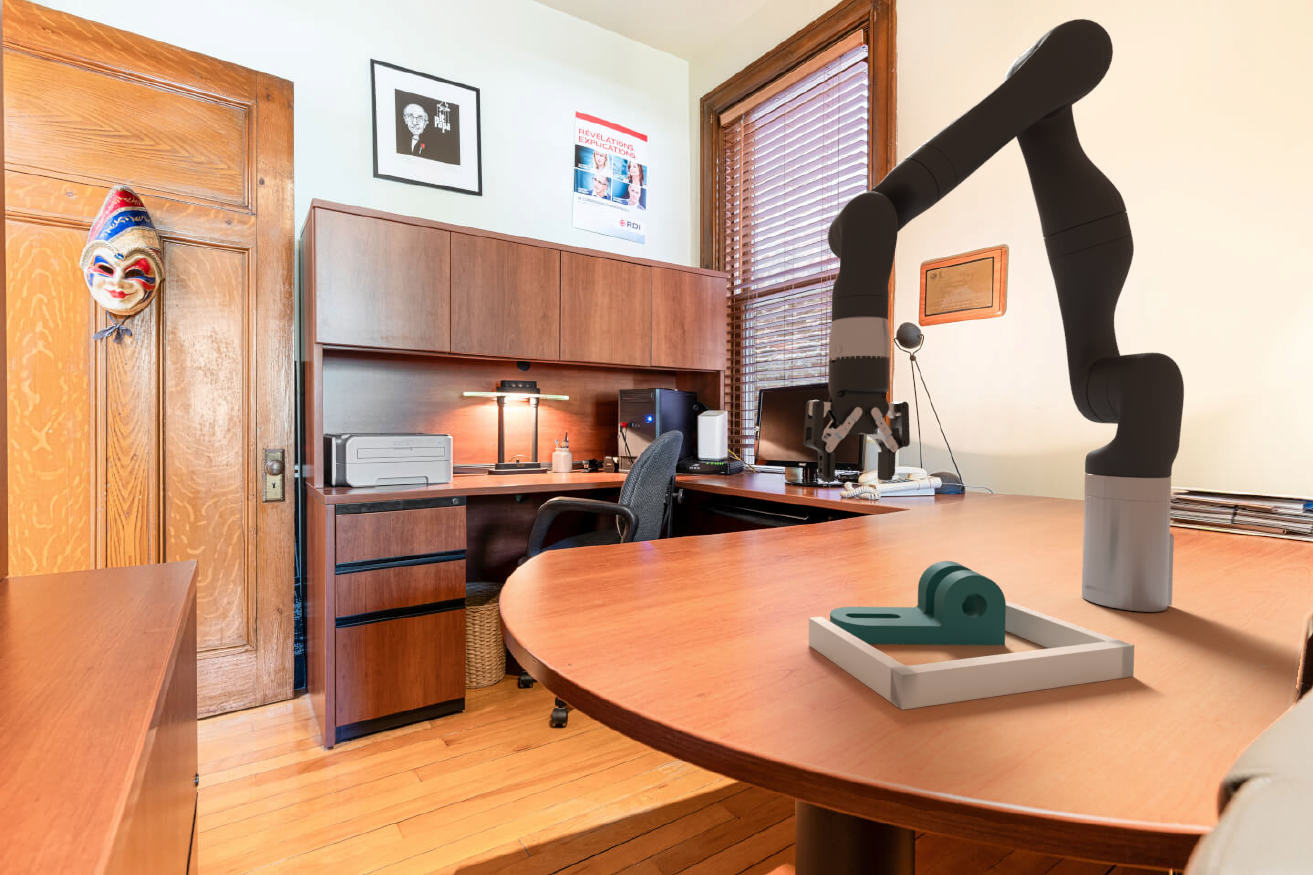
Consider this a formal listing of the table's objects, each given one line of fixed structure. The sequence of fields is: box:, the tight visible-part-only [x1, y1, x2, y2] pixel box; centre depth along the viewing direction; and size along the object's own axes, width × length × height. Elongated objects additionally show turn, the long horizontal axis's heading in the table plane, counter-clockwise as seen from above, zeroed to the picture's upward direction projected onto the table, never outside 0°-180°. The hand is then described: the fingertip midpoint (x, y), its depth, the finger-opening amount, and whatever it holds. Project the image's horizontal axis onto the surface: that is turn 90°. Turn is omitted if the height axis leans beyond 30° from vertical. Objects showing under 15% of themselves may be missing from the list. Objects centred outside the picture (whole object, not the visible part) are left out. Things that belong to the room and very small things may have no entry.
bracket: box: [829, 560, 1006, 646], centre depth 71 cm, size 18×7×8 cm, turn 89°
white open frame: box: [808, 599, 1135, 710], centre depth 63 cm, size 26×16×3 cm, turn 106°
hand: (856, 480), depth 81 cm, fingers open, 8 cm apart
